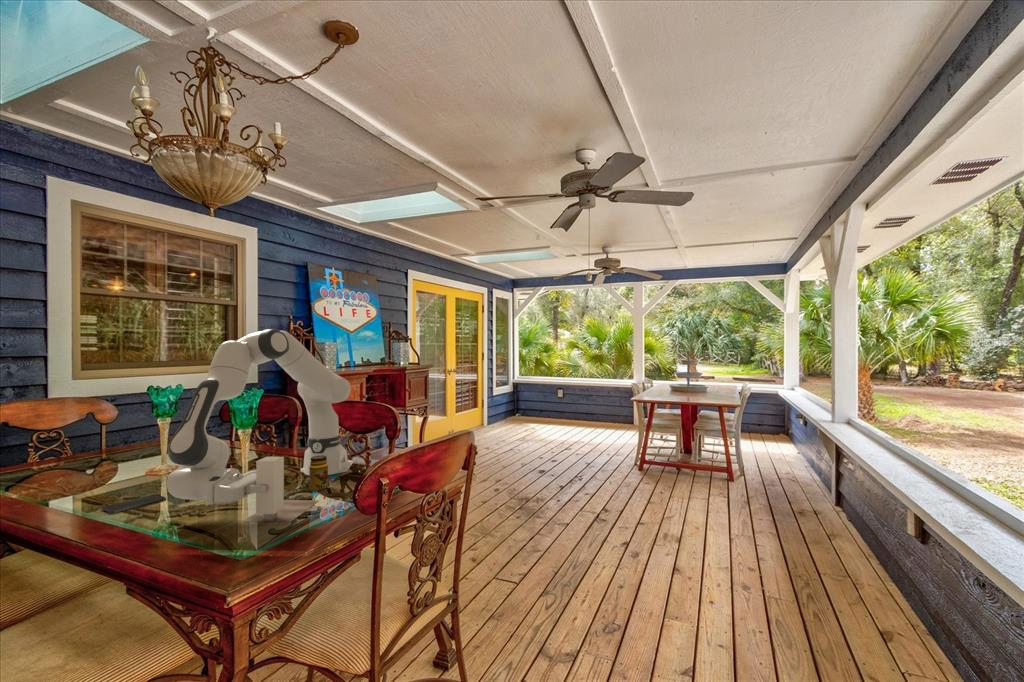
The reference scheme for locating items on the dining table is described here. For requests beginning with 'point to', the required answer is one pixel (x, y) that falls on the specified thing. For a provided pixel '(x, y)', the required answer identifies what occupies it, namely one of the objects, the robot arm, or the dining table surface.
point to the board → (286, 511)
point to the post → (270, 517)
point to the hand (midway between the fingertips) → (273, 484)
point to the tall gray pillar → (270, 485)
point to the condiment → (318, 473)
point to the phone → (133, 503)
